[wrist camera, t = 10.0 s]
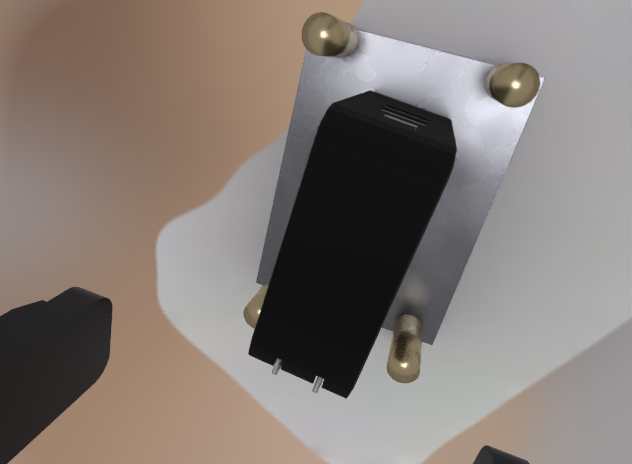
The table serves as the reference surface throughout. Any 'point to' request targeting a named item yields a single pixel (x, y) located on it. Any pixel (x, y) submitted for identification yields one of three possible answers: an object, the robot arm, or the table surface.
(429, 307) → the chassis
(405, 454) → the table surface
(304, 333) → the electronic device
